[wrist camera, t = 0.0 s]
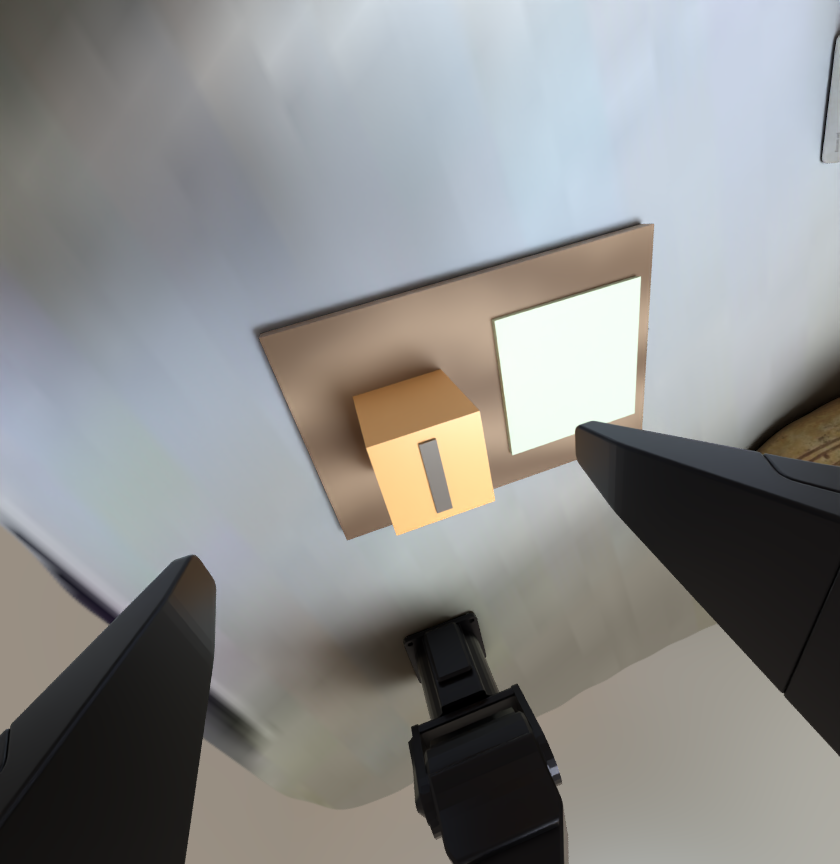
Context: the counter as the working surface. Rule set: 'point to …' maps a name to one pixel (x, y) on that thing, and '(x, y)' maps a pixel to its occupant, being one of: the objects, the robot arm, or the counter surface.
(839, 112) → the coffee box
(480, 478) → the box
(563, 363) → the pad
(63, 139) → the counter surface
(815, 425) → the ceramic vessel
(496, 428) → the board
